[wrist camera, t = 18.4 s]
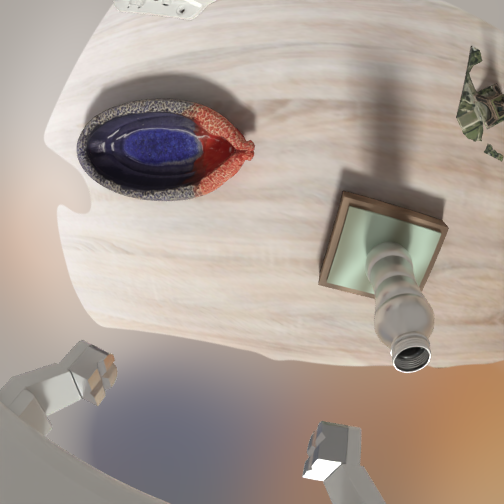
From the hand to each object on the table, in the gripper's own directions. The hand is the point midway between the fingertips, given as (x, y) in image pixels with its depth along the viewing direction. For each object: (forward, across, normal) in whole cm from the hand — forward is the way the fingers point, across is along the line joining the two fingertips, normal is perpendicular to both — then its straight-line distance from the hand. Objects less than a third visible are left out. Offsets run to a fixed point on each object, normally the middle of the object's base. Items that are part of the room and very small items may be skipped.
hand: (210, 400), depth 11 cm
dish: (+38, -22, 0) cm, 44 cm away
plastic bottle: (+34, +14, -8) cm, 38 cm away
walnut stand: (+37, +14, -8) cm, 40 cm away
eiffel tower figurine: (+38, +24, +18) cm, 49 cm away
